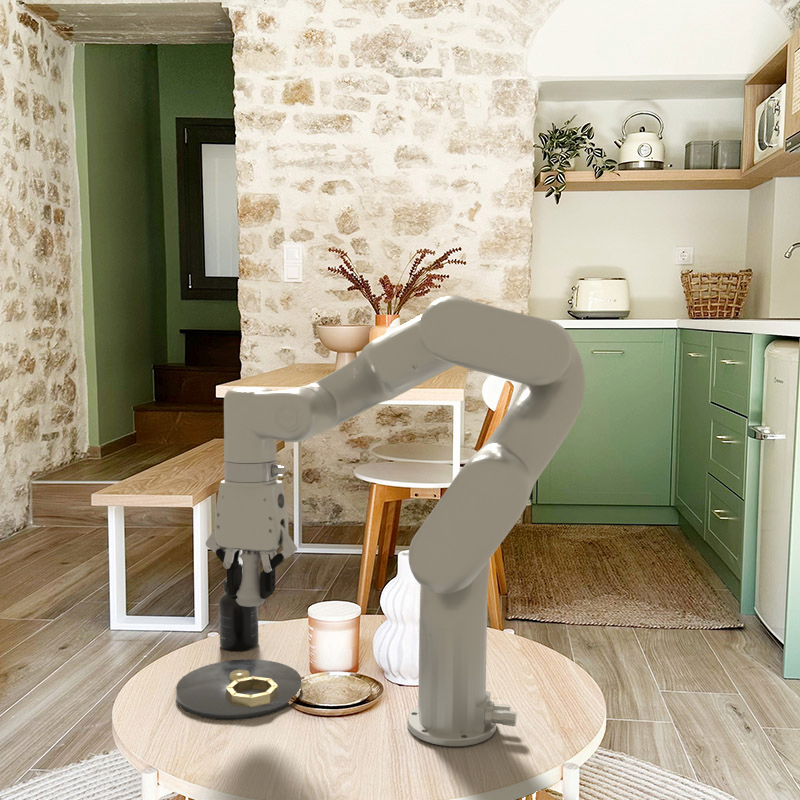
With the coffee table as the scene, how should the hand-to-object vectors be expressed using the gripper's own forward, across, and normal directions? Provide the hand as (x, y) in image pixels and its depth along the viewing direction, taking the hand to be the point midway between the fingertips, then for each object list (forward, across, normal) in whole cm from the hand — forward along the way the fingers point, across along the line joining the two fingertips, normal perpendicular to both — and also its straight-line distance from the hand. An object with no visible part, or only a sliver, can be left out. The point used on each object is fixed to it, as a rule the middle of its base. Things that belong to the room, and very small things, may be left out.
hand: (251, 593), depth 127 cm
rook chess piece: (+2, 0, 0) cm, 2 cm away
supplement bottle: (+18, +13, -22) cm, 31 cm away
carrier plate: (+17, +4, -4) cm, 18 cm away
